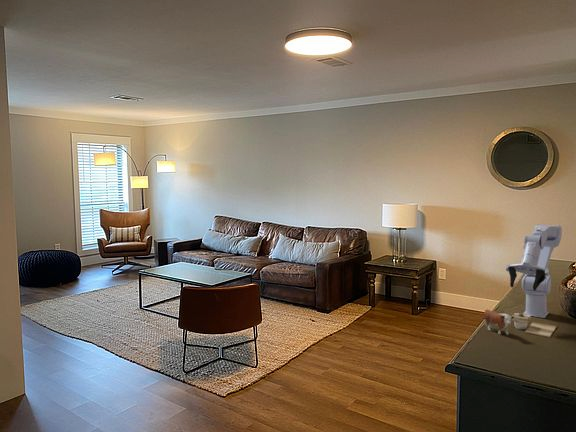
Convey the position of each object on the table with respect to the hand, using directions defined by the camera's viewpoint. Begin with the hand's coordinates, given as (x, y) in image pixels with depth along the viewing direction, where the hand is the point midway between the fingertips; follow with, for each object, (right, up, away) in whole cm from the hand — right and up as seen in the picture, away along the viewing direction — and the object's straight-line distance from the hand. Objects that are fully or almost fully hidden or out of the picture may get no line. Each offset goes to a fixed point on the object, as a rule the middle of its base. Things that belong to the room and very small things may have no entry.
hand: (522, 287), depth 164 cm
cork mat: (+6, -16, -1) cm, 17 cm away
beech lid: (0, -12, +2) cm, 13 cm away
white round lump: (0, -15, +2) cm, 16 cm away
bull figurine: (-11, -16, -3) cm, 20 cm away
